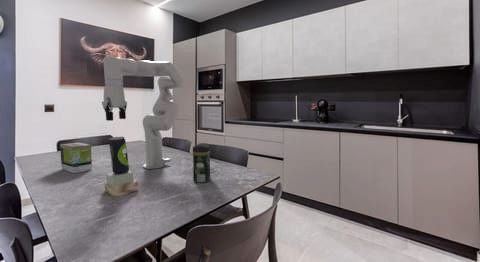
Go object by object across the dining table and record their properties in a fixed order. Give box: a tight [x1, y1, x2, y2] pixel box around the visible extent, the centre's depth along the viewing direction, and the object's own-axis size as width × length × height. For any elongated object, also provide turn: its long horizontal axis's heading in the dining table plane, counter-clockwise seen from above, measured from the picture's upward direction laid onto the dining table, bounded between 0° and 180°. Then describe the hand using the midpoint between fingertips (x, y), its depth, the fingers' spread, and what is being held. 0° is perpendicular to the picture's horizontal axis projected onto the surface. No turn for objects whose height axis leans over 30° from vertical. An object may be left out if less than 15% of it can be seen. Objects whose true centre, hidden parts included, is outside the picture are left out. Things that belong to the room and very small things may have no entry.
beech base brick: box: [103, 178, 139, 198], centre depth 101 cm, size 10×10×5 cm
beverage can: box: [108, 136, 130, 174], centre depth 99 cm, size 6×6×15 cm
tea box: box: [59, 142, 93, 174], centre depth 133 cm, size 15×10×15 cm, turn 58°
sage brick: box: [105, 169, 135, 187], centre depth 100 cm, size 8×8×4 cm
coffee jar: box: [192, 142, 211, 184], centre depth 116 cm, size 10×8×19 cm
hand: (116, 119), depth 113 cm, fingers open, 9 cm apart
